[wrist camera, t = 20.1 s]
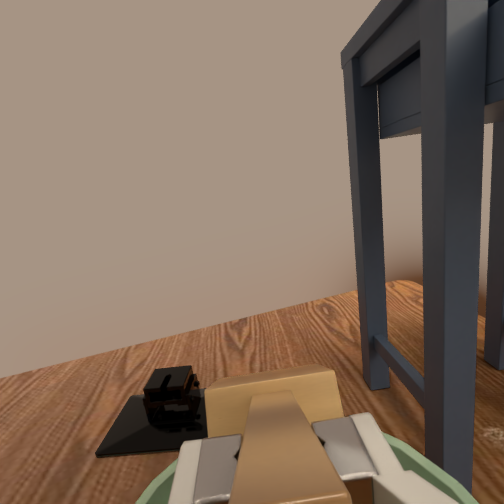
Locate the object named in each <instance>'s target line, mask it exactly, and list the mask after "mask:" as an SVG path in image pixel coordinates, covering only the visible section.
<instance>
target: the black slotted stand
mask: <svg viewBox="0 0 504 504" xmlns="http://www.w3.org/2000/svg"><path fill="white" fill-rule="evenodd" d="M199 385H200V383H199V381H198V380H197V375H196V374H193V370H192V366H191V365H190V366H180V367H171V368H161V369H155V370H154V372H153V374H152V375H151V377H150V379H149V381H148V382H147V384H146V386H145V387H144V389H143V391H144V394H143V395H133V396H131V397H130V398H129V400H128V401H127V403H126V404H125V406H124V408H123V409H122V411H121V412H120V414H119V416H118V417H117V419H116V420H115V422H114V424H113V425H112V427H111V428H110V430H109V432H108V433H107V435H106V436H105V438H104V440H103V441H102V443H101V444H100V446H99V448H98V449H97V451H96V452H95V454H96V457H97V458H99V457H111V456H123V455H136V454H148V453H160V452H172V451H180V448H181V446H182V444H183V442H184V441H191V440H199V439H203V438H207V437H208V429H207V418H206V407H205V395H204V390H206V389H207V388H204V389H199Z"/></svg>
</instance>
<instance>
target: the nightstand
mask: <svg viewBox="0 0 504 504" xmlns="http://www.w3.org/2000/svg"><path fill="white" fill-rule="evenodd" d="M341 65H342V69H343V75H344V90H345V103H346V104H345V105H346V121H347V136H348V150H349V166H350V181H351V195H352V212H353V225H354V226H353V227H354V240H355V241H354V242H355V257H356V272H357V286H358V302H359V318H360V333H361V348H362V363H363V378H364V380H365V381H366V383H367V384H368V386H369V388H370V389H371V390H376V389H383V388H389V387H390V381H389V367H390V368H391V370H392V371H393V372H394V373H395V374H396V376H397V377H398V378H399V379H400V380H401V382H402V383H403V384H404V385H405V387H406V388H407V389H408V390H409V391H410V393H411V394H412V395H413V396H414V397H415V399H416V400H417V401H418V402H419V404H420V405H421V406H422V407H423V408H424V410H425V457H426V458H427V459H428V460H430V461H431V462H433V463H434V464H435V465H437V466H438V467H439V468H441V469H442V470H443V471H445V472H446V473H447V474H449V475H450V476H452V477H453V478H454V479H456V480H457V481H458V482H459V483H460V484H462V486H463V487H464V488H465V489H466V490H467V491H468V492H469V493H470V494H471V495H472V467H473V437H474V407H475V378H476V348H477V318H478V288H479V258H480V229H481V198H482V168H483V139H484V138H483V137H484V124H488V123H493V149H492V172H491V173H492V174H491V197H490V222H489V247H488V271H487V296H486V297H487V298H486V320H485V345H484V360H485V361H487V362H488V363H489V364H491V365H492V366H494V367H495V368H496V369H498V370H504V0H381V1H380V2H379V3H378V5H377V6H376V7H375V9H374V10H373V11H372V12H371V14H370V15H369V16H368V18H367V19H366V20H365V22H364V23H363V24H362V25H361V27H360V28H359V29H358V31H357V32H356V33H355V35H354V36H353V37H352V39H351V40H350V41H349V42H348V44H347V45H346V46H345V48H344V49H343V50H342V52H341ZM377 91H378V104H379V125H378V104H377ZM379 127H380V129H379ZM379 130H380V139H386V138H393V137H399V136H407V135H413V134H420V133H421V145H422V226H423V227H422V228H423V229H422V232H423V316H424V378H423V377H422V375H421V374H420V373H419V372H418V371H417V370H416V369H415V368H414V367H413V366H412V365H411V364H410V363H409V362H408V361H407V360H406V359H405V358H404V357H403V356H402V355H401V353H400V352H399V351H398V350H397V349H396V348H395V347H394V346H393V345H392V344H391V343H390V342H389V341H388V334H387V311H386V288H385V267H384V266H385V264H384V241H383V221H382V220H383V218H382V195H381V172H380V149H379Z"/></svg>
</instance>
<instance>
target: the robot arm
mask: <svg viewBox="0 0 504 504" xmlns="http://www.w3.org/2000/svg"><path fill="white" fill-rule="evenodd" d="M311 427H312V429H313V430H314V432H315V434H316V435H317V437H318V439H319V441H320V442H321V444H322V446H323V448H324V449H325V451H326V453H327V455H328V456H329V458H330V460H331V462H332V463H333V465H334V467H335V469H336V470H337V472H338V474H339V476H340V477H341V479H342V481H343V483H344V484H345V486H346V488H347V490H348V491H349V493H350V495H351V499H352V504H460V503H458V502H457V501H455V500H454V499H452V498H451V497H449V496H448V495H447V494H445V493H444V492H442V491H441V490H439V489H438V488H436V487H435V486H433V485H432V484H431V483H429V482H428V481H426V480H425V479H423V478H422V477H420V476H419V475H418V474H416V473H415V472H413V471H412V470H408V471H404V469H403V468H402V466H401V464H400V462H399V461H398V459H397V457H396V456H395V454H394V452H393V450H392V449H391V447H390V445H389V444H388V442H387V440H386V438H385V437H384V435H383V433H382V432H381V430H380V428H379V426H378V425H377V423H376V421H375V420H374V418H373V416H372V415H371V414H370V413H369V412H366V413H360V414H354V415H349V416H343V417H338V418H332V419H326V420H320V421H314V422H311ZM242 439H243V436H242V434H233V435H225V436H218V437H210V438H203V439H199V440H191V441H184V442H183V444H182V446H181V448H180V452H179V457H178V461H177V465H176V470H175V474H174V479H173V483H172V487H171V492H170V496H169V500H168V504H228V503H229V498H230V494H231V489H232V484H233V480H234V475H235V471H236V466H237V462H238V457H239V452H240V448H241V443H242Z"/></svg>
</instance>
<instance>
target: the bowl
mask: <svg viewBox="0 0 504 504" xmlns="http://www.w3.org/2000/svg"><path fill="white" fill-rule="evenodd" d="M381 432H382V431H381ZM382 433H383V435H384V437H385V438H386V440H387V442H388V444H389V445H390V447H391V449H392V450H393V452H394V454H395V456H396V457H397V459H398V461H399V462H400V464H401V466H402V468H403V469H404V471H408V470H412V471H413V472H415V473H416V474H418V475H419V476H420V477H422V478H423V479H425V480H426V481H428V482H429V483H431V484H432V485H433V486H435V487H436V488H438V489H439V490H441V491H442V492H444V493H445V494H447V495H448V496H449V497H451V498H452V499H454V500H455V501H457V502H458V503H460V504H479V503H478V502H477V501H476V500H475V499H474V498H473V496H472V495H471V494H470V493H469V492H468V491H467V490H466V489H465V488H464V487H463V486H462V484H460V483H459V482H458V481H457V480H456V479H454V478H453V477H452V476H450V475H449V474H447V473H446V472H445V471H443V470H442V469H441V468H439V467H438V466H437V465H435V464H434V463H433V462H431V461H430V460H428V459H427V458H426V457H424V456H423V455H422V454H420V453H419V452H418V451H416V450H415V449H413V448H412V447H411V446H409V445H408V444H407V443H405V442H403V441H401V440H399V439H397V438H395V437H393V436H390V435H388V434H386V433H384V432H382ZM207 438H208V437H207ZM177 461H178V458H177V459H176V460H175V461H174V462H173V463H172V464H171V465H169V466H168V467H167V468H166V469H165V470H164V471H163V472H162V473H160V474H159V475H158V476H157V477H156V478H155V479H154V480H153V481H151V483H150V484H149V485H148V487H147V488H146V489H145V491H144V492H143V493H142V495H141V496H140V497H139V499H138V500H137V501H136V503H135V504H168V500H169V496H170V492H171V487H172V483H173V479H174V474H175V470H176V465H177Z"/></svg>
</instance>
